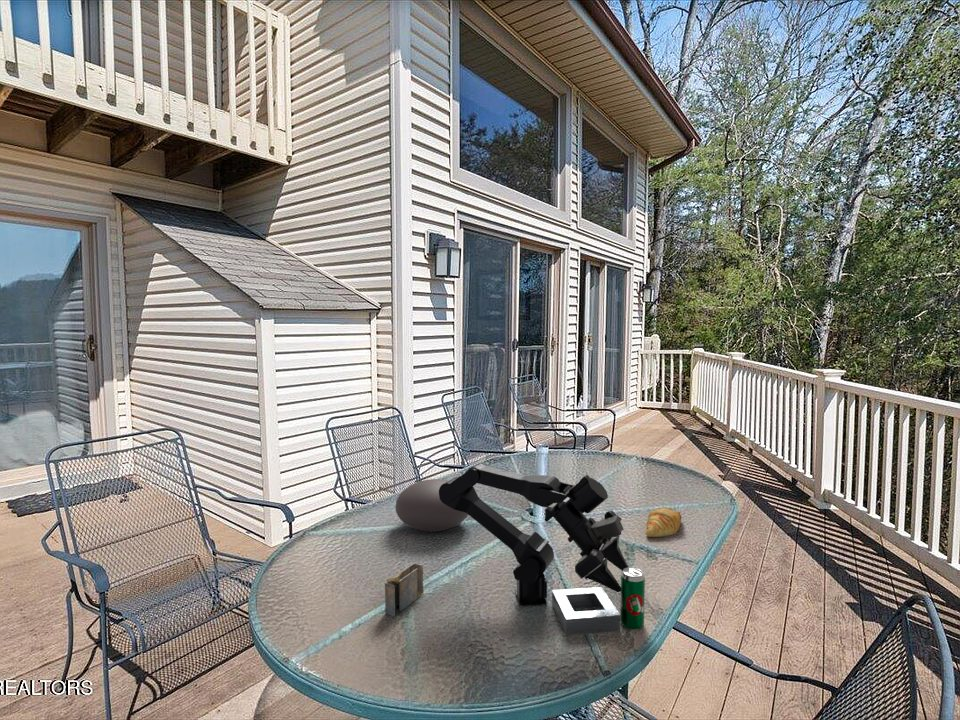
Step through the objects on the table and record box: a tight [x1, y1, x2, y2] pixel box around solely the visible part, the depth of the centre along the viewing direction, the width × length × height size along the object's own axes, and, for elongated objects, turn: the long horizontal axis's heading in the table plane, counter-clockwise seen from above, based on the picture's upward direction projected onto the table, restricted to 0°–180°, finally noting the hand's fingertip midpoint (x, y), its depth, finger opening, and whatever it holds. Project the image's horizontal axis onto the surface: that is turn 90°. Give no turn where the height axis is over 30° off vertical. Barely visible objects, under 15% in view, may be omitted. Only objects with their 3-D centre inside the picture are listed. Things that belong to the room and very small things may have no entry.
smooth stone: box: [394, 478, 469, 533], centre depth 169 cm, size 25×25×15 cm
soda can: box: [619, 566, 646, 631], centre depth 114 cm, size 5×5×12 cm
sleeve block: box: [551, 586, 621, 636], centre depth 117 cm, size 12×12×4 cm
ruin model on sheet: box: [384, 562, 424, 617], centre depth 123 cm, size 11×3×10 cm, turn 151°
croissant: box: [645, 507, 683, 538], centre depth 166 cm, size 21×10×8 cm, turn 136°
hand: (624, 581), depth 115 cm, fingers open, 9 cm apart
